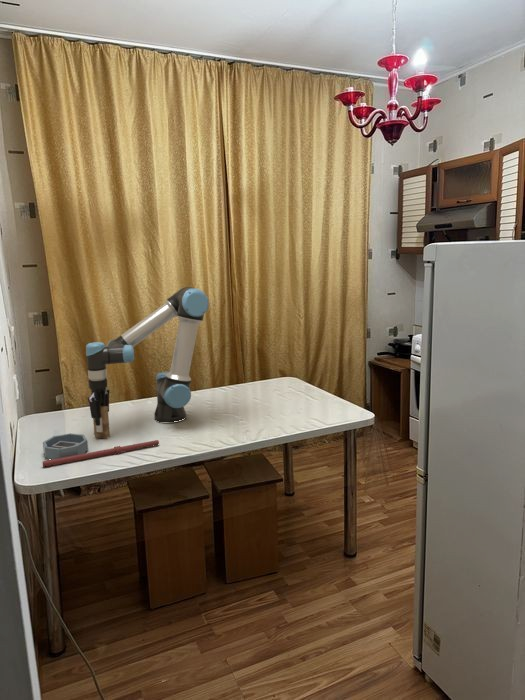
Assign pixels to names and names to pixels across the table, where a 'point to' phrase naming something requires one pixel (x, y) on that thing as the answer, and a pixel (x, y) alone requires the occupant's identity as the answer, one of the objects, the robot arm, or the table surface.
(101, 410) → the flat wood plank
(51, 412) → the table surface
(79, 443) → the octagonal blue tray
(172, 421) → the robot arm
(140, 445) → the rolling pin
